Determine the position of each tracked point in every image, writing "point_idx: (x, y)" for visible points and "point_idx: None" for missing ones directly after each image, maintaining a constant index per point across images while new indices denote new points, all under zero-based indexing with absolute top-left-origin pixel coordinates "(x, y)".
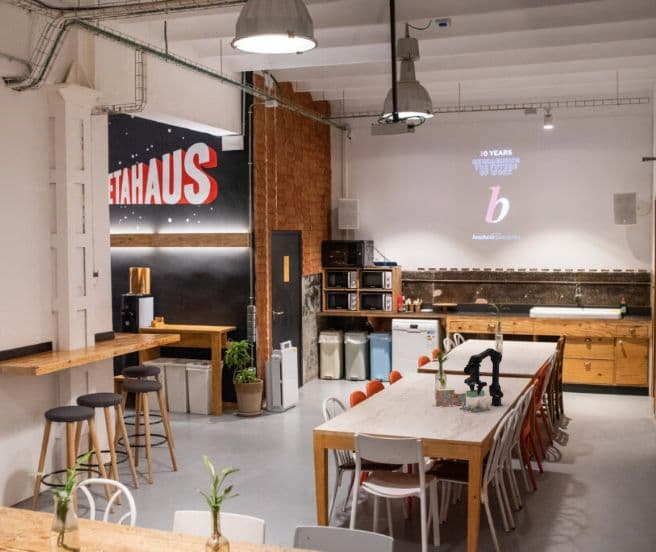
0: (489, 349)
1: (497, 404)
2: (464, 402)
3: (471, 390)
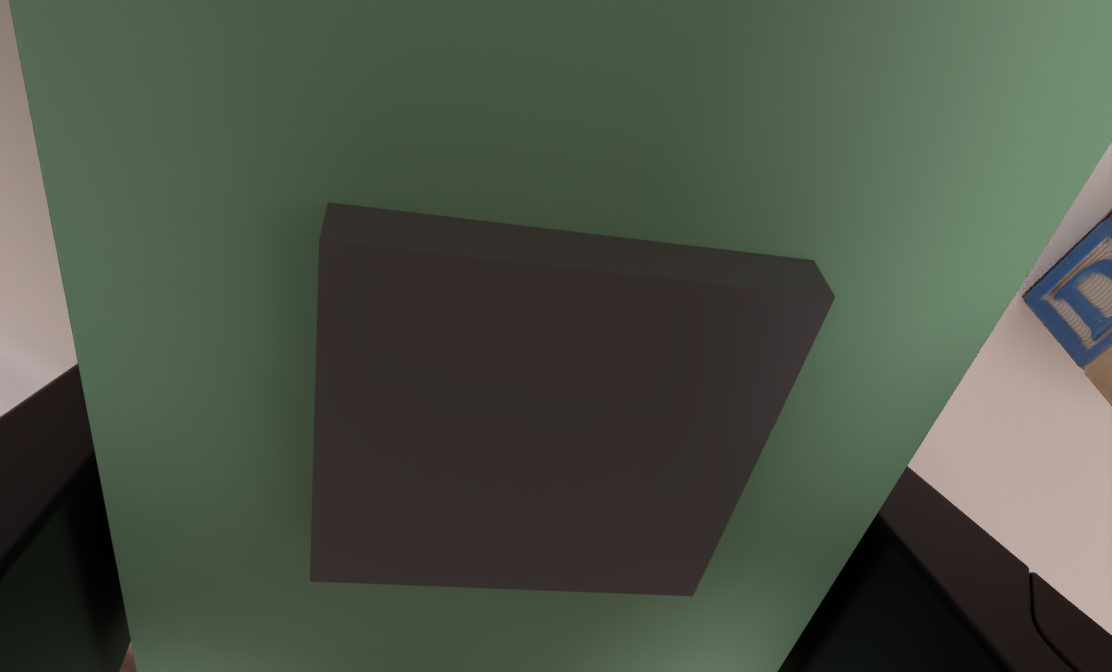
0: None
1: None
2: (1100, 317)
3: (642, 277)
